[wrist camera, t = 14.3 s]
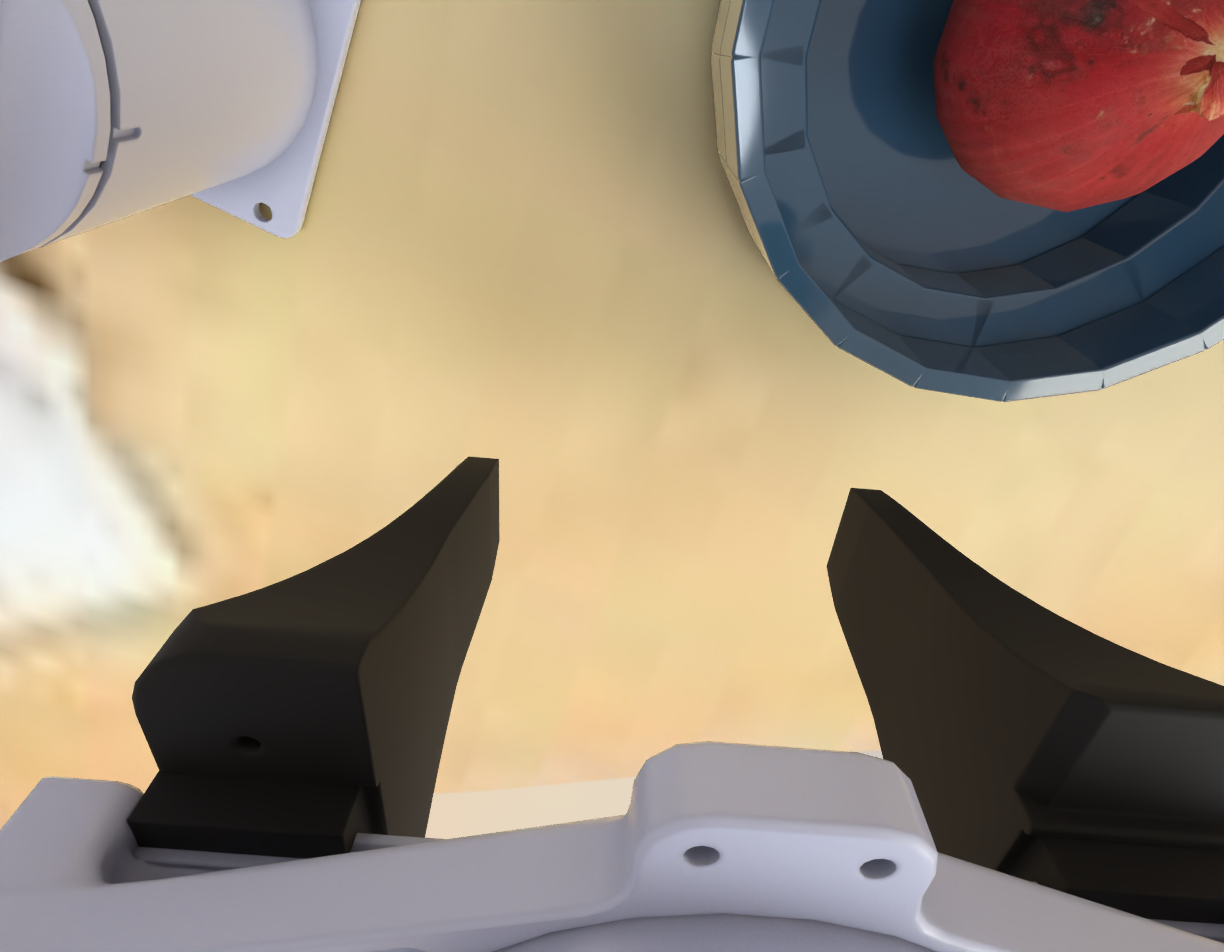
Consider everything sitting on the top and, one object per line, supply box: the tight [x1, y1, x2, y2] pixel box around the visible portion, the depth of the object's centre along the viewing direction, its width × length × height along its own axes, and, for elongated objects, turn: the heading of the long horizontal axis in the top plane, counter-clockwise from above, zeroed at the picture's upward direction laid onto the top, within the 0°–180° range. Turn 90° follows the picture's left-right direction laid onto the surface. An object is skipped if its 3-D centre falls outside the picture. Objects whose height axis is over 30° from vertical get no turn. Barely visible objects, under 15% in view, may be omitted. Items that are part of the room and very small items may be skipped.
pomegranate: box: [933, 0, 1224, 212], centre depth 14 cm, size 6×6×8 cm
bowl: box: [711, 0, 1224, 402], centre depth 16 cm, size 15×15×5 cm
